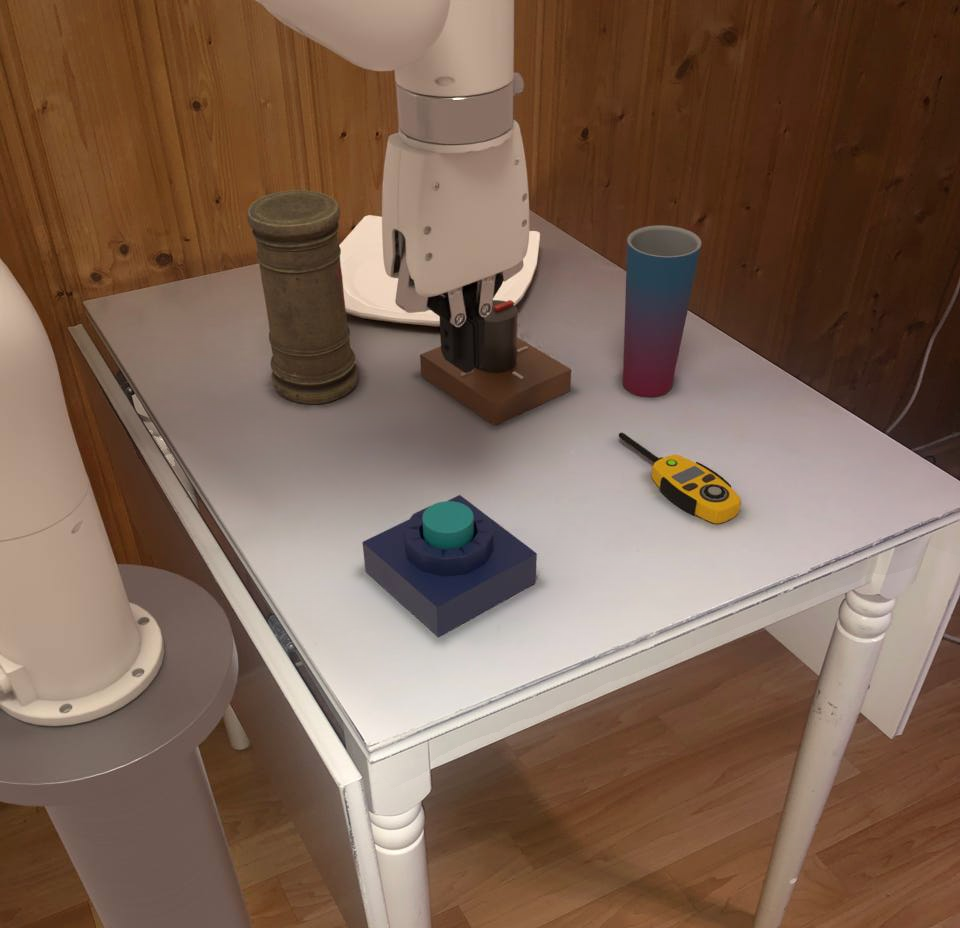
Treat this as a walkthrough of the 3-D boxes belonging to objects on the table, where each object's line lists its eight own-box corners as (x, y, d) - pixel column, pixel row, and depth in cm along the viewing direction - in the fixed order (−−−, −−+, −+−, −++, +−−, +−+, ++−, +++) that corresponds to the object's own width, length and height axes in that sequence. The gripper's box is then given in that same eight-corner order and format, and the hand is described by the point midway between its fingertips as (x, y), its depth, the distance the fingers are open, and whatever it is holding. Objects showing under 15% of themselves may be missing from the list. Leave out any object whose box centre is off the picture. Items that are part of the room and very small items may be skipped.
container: (323, 414, 104) (301, 235, 91) (253, 389, 107) (222, 213, 95) (377, 373, 109) (362, 199, 97) (308, 351, 113) (286, 180, 100)
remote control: (712, 513, 89) (600, 431, 98) (709, 531, 91) (598, 448, 99) (753, 493, 91) (639, 415, 100) (749, 511, 92) (637, 432, 101)
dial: (491, 377, 104) (491, 323, 100) (464, 359, 106) (463, 306, 102) (525, 362, 106) (527, 309, 102) (497, 345, 108) (498, 292, 104)
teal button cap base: (438, 637, 81) (436, 589, 78) (365, 571, 87) (360, 524, 83) (535, 583, 86) (537, 535, 82) (460, 524, 91) (459, 477, 88)
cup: (667, 363, 110) (686, 222, 100) (690, 397, 106) (712, 252, 95) (605, 371, 109) (617, 229, 99) (625, 405, 105) (640, 260, 94)
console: (494, 425, 102) (494, 402, 100) (420, 376, 109) (419, 352, 107) (570, 391, 107) (571, 367, 105) (495, 345, 113) (495, 322, 111)
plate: (293, 322, 117) (290, 299, 115) (362, 231, 134) (360, 210, 132) (507, 347, 113) (508, 324, 111) (550, 249, 130) (551, 228, 128)
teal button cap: (443, 556, 81) (443, 539, 80) (413, 531, 83) (412, 514, 82) (484, 536, 83) (483, 518, 82) (452, 512, 85) (452, 494, 84)
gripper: (509, 70, 73) (509, 314, 86) (325, 120, 67) (355, 375, 80) (581, 98, 69) (569, 351, 82) (391, 154, 63) (411, 418, 75)
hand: (463, 362), depth 81 cm, fingers closed
